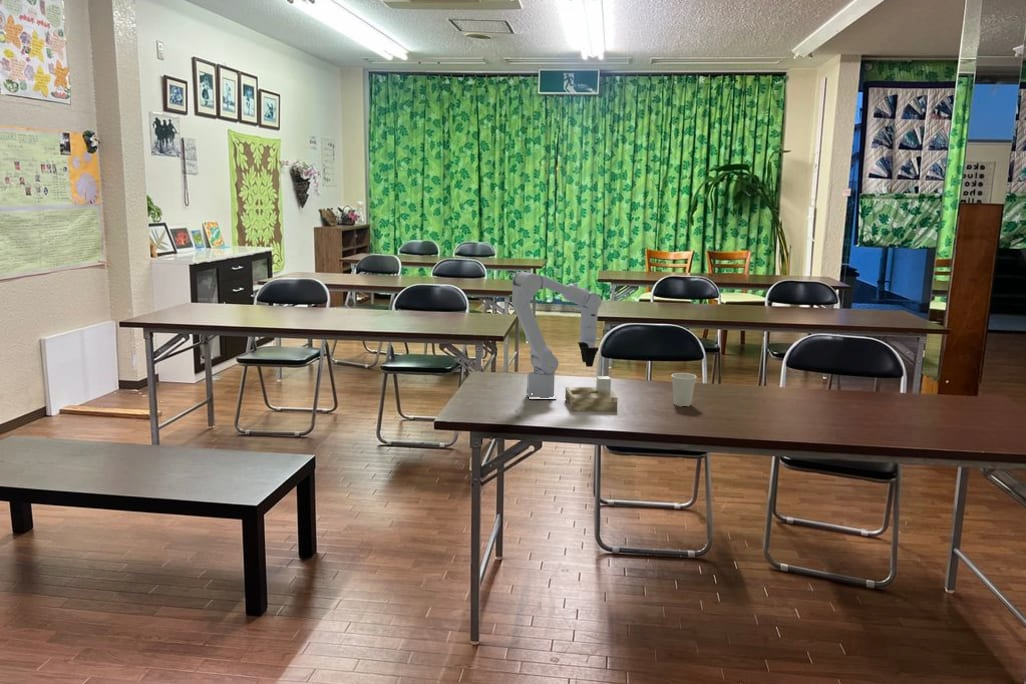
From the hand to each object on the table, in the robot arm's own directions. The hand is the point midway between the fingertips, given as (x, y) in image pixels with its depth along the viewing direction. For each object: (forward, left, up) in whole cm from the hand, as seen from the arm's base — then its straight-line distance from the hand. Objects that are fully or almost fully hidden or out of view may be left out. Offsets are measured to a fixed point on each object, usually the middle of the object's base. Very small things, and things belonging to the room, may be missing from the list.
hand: (587, 364), depth 273 cm
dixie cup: (+30, -16, -11) cm, 36 cm away
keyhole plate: (-1, -17, -10) cm, 20 cm away
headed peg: (+3, -17, -10) cm, 20 cm away
